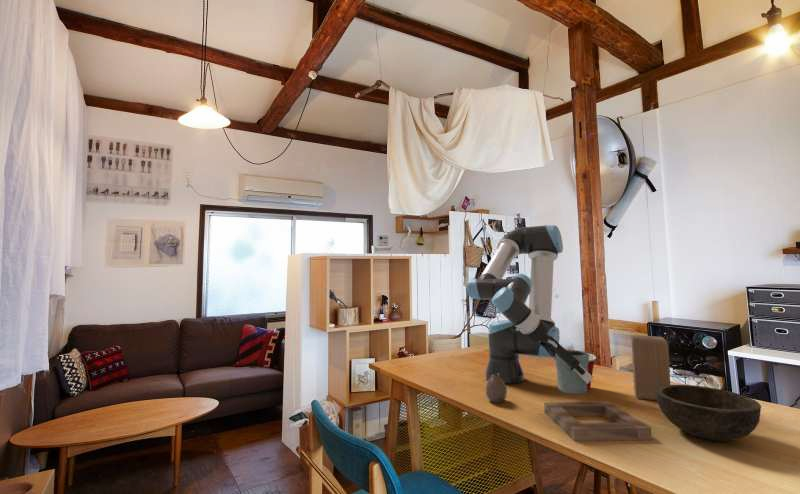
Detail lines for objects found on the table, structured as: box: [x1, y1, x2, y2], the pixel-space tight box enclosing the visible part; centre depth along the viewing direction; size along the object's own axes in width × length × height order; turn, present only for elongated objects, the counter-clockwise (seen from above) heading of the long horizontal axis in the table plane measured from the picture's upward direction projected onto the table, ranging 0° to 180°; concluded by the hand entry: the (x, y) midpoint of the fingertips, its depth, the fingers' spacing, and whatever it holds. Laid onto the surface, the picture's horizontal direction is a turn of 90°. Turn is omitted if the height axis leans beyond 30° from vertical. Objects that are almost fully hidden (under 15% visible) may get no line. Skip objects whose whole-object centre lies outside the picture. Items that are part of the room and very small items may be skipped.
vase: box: [485, 374, 508, 404], centre depth 130 cm, size 7×7×9 cm
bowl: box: [656, 384, 762, 442], centre depth 101 cm, size 22×22×10 cm
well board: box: [543, 400, 653, 442], centre depth 109 cm, size 20×20×3 cm
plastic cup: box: [587, 352, 597, 390], centre depth 143 cm, size 11×11×12 cm
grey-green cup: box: [554, 349, 590, 395], centre depth 125 cm, size 10×10×12 cm
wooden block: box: [630, 334, 671, 402], centre depth 133 cm, size 10×10×20 cm
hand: (581, 375), depth 125 cm, fingers closed on grey-green cup, 10 cm apart
